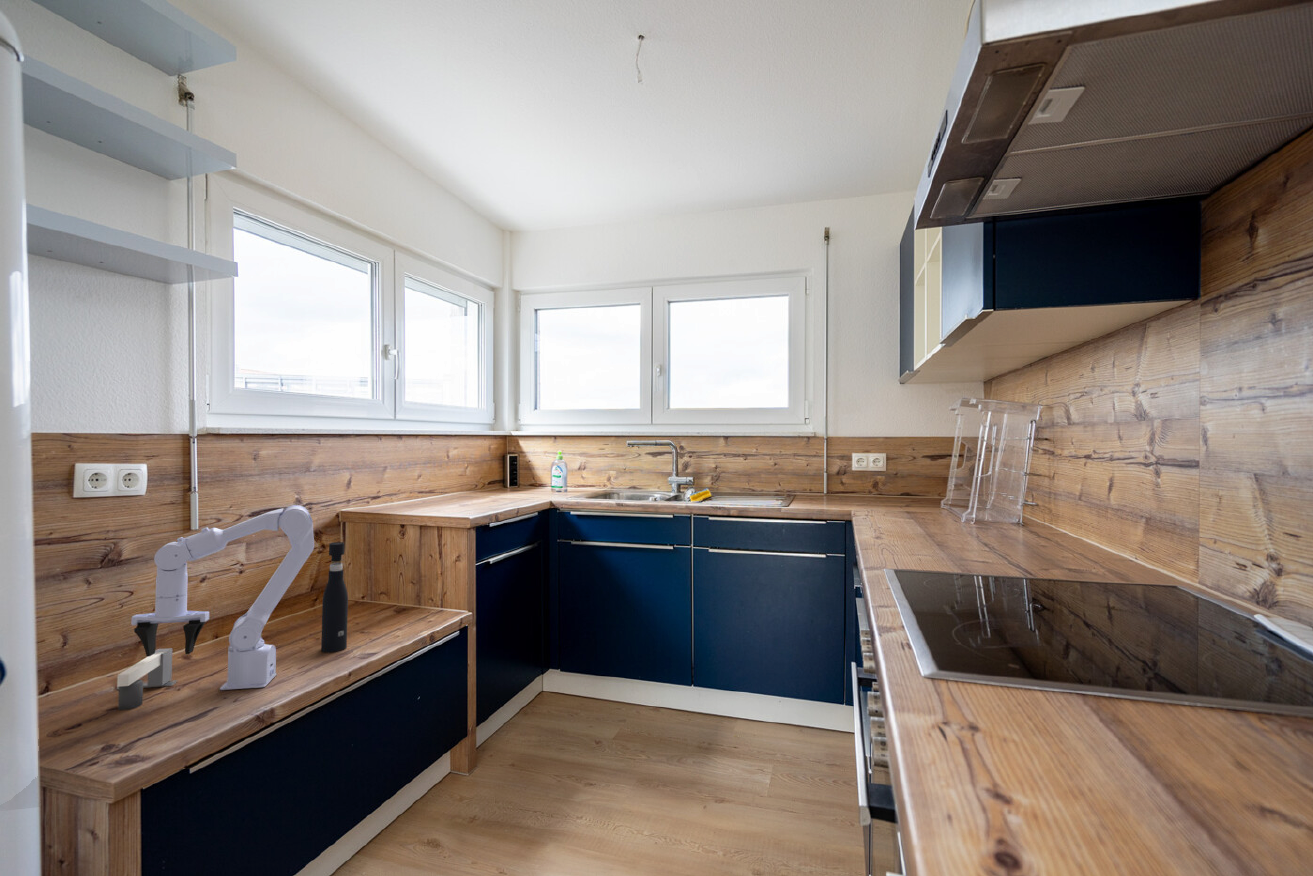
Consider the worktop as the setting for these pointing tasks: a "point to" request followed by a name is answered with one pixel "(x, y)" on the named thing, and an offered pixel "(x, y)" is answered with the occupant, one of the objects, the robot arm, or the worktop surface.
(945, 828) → the worktop surface
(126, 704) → the plug
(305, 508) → the robot arm
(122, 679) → the tie bar
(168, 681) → the rail
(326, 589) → the black water bottle
